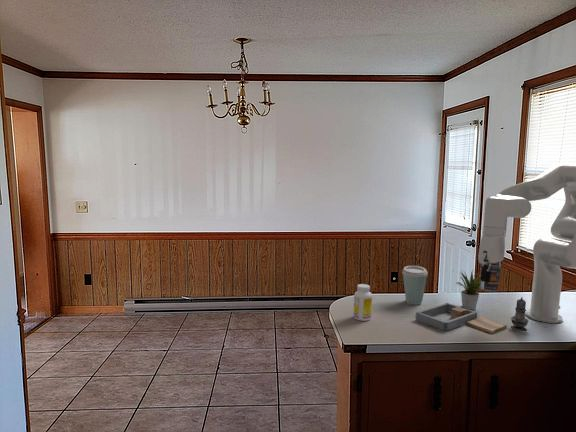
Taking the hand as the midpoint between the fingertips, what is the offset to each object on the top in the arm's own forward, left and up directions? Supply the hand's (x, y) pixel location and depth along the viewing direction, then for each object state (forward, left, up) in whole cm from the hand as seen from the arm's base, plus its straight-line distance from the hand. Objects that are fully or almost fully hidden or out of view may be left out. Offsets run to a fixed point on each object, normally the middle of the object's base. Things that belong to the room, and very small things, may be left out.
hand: (489, 279), depth 156 cm
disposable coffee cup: (+1, -32, -18) cm, 37 cm away
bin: (+7, -12, -18) cm, 22 cm away
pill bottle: (0, 0, -4) cm, 4 cm away
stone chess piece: (-8, +8, -18) cm, 21 cm away
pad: (0, 0, -18) cm, 18 cm away
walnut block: (+2, -10, -18) cm, 21 cm away
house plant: (-13, -16, -18) cm, 27 cm away
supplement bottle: (+33, -31, -18) cm, 49 cm away
